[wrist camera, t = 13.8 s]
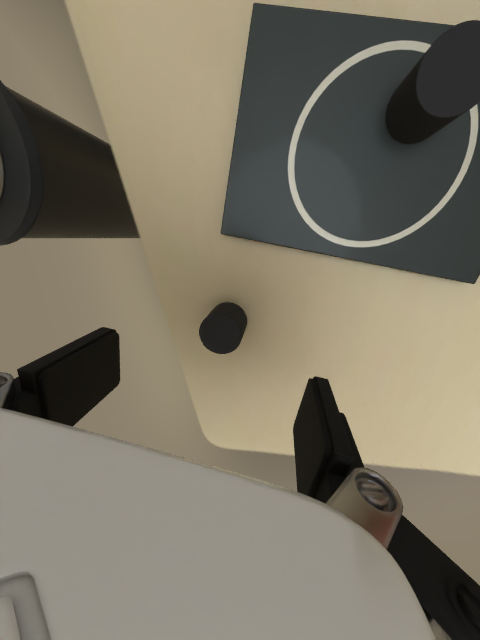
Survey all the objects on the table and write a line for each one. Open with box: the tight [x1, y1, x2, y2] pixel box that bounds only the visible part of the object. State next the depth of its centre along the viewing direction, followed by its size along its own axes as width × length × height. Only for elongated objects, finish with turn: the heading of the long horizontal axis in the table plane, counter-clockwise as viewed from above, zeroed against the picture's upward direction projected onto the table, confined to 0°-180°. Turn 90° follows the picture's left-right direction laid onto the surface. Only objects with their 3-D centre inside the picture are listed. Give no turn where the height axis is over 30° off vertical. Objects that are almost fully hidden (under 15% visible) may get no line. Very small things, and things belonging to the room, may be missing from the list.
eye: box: [385, 20, 480, 144], centre depth 14 cm, size 4×4×4 cm
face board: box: [221, 3, 480, 284], centre depth 18 cm, size 22×15×1 cm
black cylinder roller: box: [199, 302, 247, 354], centre depth 23 cm, size 4×4×4 cm
